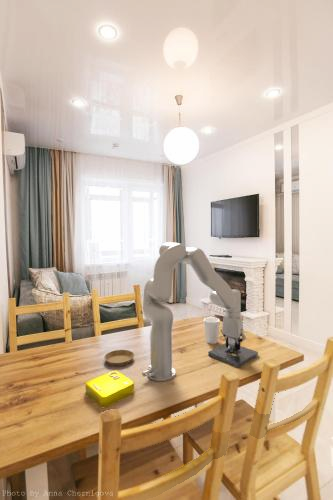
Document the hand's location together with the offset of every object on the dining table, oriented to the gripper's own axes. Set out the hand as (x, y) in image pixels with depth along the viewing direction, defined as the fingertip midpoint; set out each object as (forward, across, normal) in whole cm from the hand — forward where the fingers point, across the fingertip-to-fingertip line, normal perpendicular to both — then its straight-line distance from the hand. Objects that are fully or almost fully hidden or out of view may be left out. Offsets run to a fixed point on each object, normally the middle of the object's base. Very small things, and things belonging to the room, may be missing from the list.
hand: (232, 348), depth 136 cm
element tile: (+5, -16, -63) cm, 65 cm away
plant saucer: (+5, -37, -45) cm, 58 cm away
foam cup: (+4, -19, +7) cm, 21 cm away
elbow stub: (+1, 0, 0) cm, 1 cm away
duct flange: (+4, 0, 0) cm, 4 cm away
